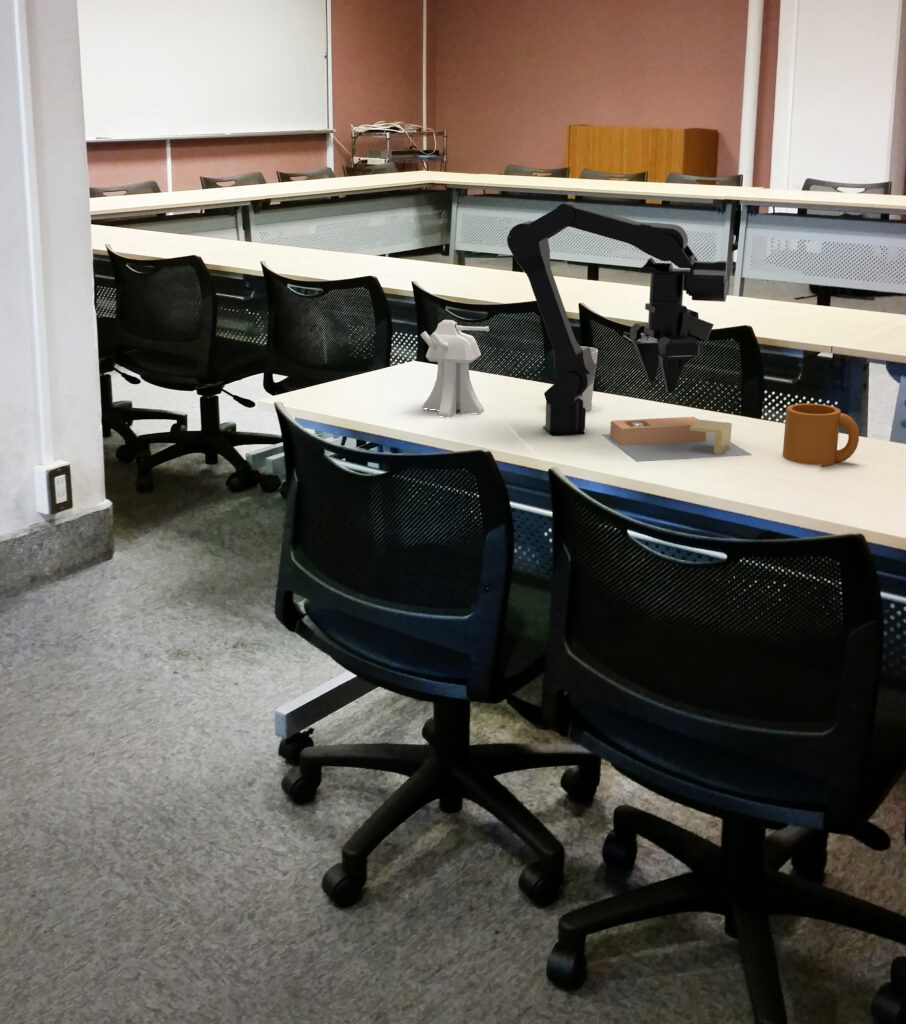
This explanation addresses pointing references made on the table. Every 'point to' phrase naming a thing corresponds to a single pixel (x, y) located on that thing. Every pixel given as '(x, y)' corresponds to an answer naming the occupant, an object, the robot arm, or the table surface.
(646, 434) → the link
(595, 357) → the cup
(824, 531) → the table surface
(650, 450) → the mat
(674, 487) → the table surface
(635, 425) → the cylinder
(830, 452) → the mug
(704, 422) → the keeper
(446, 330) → the white mech figurine
